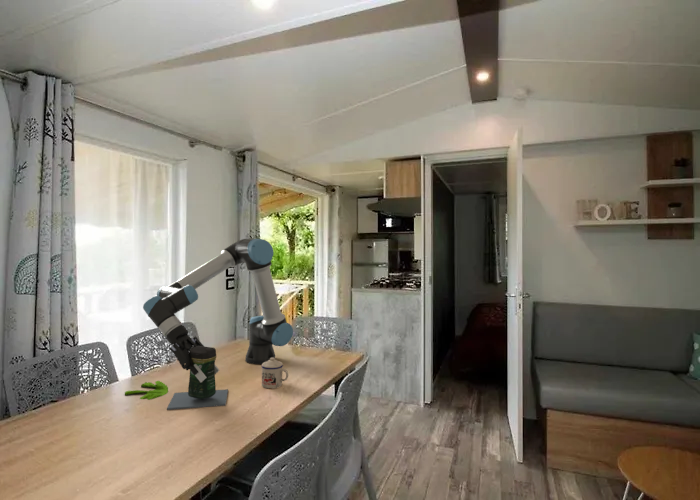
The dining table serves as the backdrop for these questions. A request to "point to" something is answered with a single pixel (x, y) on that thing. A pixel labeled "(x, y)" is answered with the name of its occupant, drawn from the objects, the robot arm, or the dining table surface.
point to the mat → (197, 400)
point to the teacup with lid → (272, 373)
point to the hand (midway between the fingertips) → (210, 376)
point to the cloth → (151, 394)
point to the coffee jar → (206, 363)
